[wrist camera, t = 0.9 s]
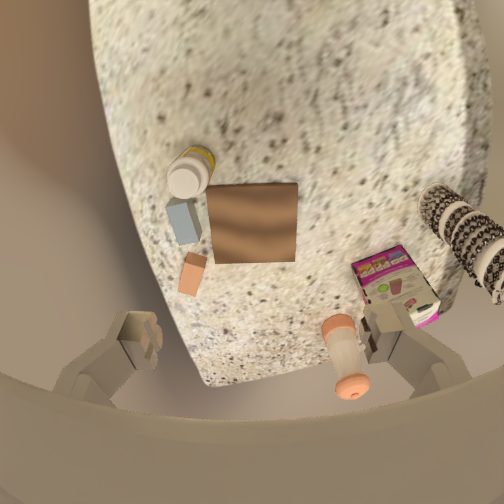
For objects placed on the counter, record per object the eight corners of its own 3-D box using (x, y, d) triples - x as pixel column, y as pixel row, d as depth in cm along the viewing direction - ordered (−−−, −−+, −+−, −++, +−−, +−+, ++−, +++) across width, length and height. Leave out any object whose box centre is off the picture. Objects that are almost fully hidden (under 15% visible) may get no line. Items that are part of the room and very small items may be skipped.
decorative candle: (457, 208, 44) (536, 286, 23) (424, 233, 47) (495, 325, 26) (444, 171, 40) (540, 245, 19) (408, 198, 43) (493, 289, 22)
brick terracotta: (188, 251, 50) (184, 262, 47) (207, 256, 50) (204, 268, 47) (181, 279, 53) (177, 291, 50) (198, 284, 54) (195, 296, 51)
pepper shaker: (323, 338, 63) (337, 409, 47) (319, 318, 59) (335, 395, 43) (352, 331, 61) (372, 400, 45) (351, 310, 58) (375, 384, 42)
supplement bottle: (186, 183, 43) (169, 210, 34) (175, 150, 40) (154, 169, 31) (220, 174, 42) (211, 199, 33) (210, 140, 39) (197, 156, 30)
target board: (206, 186, 43) (205, 188, 42) (296, 182, 42) (297, 185, 41) (215, 260, 50) (215, 263, 49) (294, 257, 50) (294, 261, 49)
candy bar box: (355, 282, 53) (380, 345, 39) (350, 263, 51) (377, 328, 37) (404, 262, 51) (440, 320, 37) (401, 243, 48) (441, 300, 34)
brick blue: (171, 198, 44) (165, 207, 41) (190, 194, 44) (186, 202, 41) (183, 235, 48) (179, 245, 45) (202, 231, 48) (199, 241, 45)
